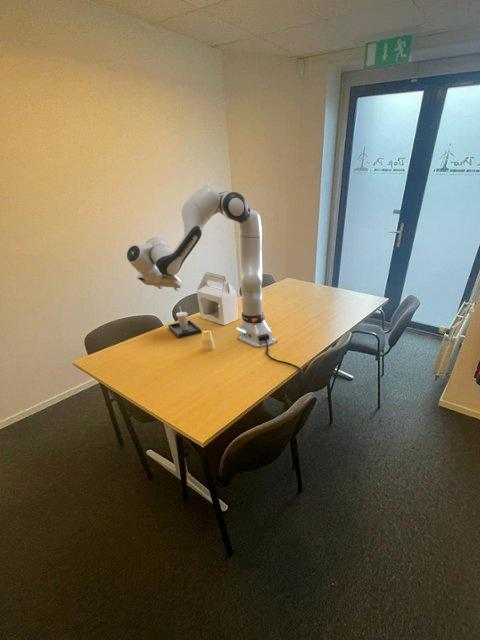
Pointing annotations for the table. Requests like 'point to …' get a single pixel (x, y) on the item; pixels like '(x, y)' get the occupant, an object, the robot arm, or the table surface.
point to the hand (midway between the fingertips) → (169, 288)
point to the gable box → (217, 300)
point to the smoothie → (182, 320)
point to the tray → (180, 333)
